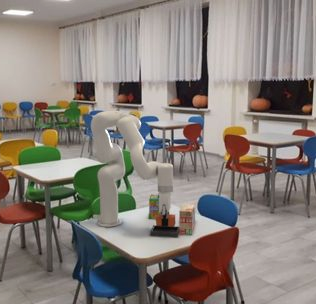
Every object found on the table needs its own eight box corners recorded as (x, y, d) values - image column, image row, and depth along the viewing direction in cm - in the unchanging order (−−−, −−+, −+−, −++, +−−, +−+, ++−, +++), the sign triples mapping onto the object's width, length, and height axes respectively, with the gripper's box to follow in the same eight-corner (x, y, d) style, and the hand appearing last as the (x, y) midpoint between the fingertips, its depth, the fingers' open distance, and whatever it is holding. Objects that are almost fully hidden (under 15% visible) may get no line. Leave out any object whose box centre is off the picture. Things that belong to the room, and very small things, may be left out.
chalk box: (150, 213, 241) (150, 188, 239) (166, 214, 240) (166, 189, 238) (148, 218, 232) (148, 192, 230) (165, 219, 231) (165, 193, 229)
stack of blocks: (183, 220, 230) (183, 198, 227) (195, 221, 228) (195, 199, 226) (179, 234, 209) (179, 210, 207) (191, 235, 208) (192, 211, 206)
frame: (150, 235, 207) (150, 231, 207) (153, 229, 217) (153, 225, 216) (177, 237, 205) (177, 233, 204) (179, 230, 214) (179, 226, 214)
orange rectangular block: (156, 225, 208) (155, 216, 208) (157, 222, 213) (157, 213, 212) (174, 226, 207) (174, 217, 206) (175, 223, 211) (175, 214, 211)
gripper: (160, 184, 216) (160, 218, 219) (155, 192, 199) (155, 229, 202) (174, 184, 214) (175, 218, 217) (170, 193, 198) (171, 230, 201)
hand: (165, 223), depth 210 cm, fingers closed on orange rectangular block, 5 cm apart
